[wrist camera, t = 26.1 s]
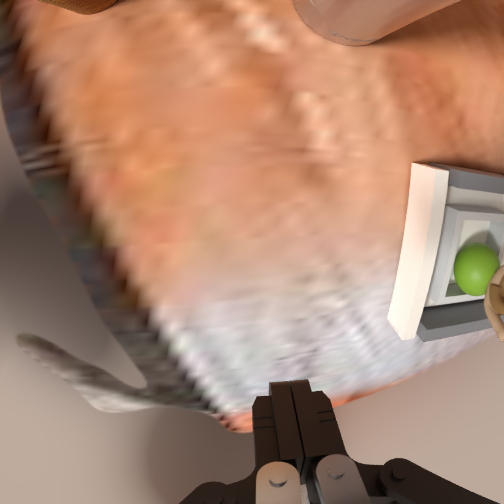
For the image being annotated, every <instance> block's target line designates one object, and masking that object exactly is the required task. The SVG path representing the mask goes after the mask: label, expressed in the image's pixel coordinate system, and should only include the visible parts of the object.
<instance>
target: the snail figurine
mask: <svg viewBox="0 0 504 504" xmlns="http://www.w3.org/2000/svg"><path fill="white" fill-rule="evenodd" d="M454 278H455V281H456V283H457V285H458V286H459V288H460V289H461V290H462V291H463V292H465V293H466V294H468V295H471V296H482V295H485V297H484V309H485V312H486V315H487V317H488V319H489V321H490V323H491V325H492V327H493V328H494V330H495V331H496V333H497V336H498V338H500V341H501V342H504V323H503V321H502V319H501V318H500V316H499V314H500V315H503V316H504V265H502V266H500V262H499V258H498V256H497V254H496V253H495V251H494V250H493V249H492V248H491V247H489V246H488V245H486V244H483V243H472V244H469V245H467V246H465V247H464V248H463V249H462V250H461V251H460V252H459V253H458V255H457V257H456V259H455V262H454Z"/></svg>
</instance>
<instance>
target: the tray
mask: <svg viewBox="0 0 504 504" xmlns="http://www.w3.org/2000/svg"><path fill="white" fill-rule="evenodd" d="M448 177H449V171H447V170H444V169H440V168H437V167H433V166H429V165H426V164H419V163H412V169H411V181H410V191H409V200H408V208H407V216H406V224H405V231H404V237H403V243H402V249H401V255H400V261H399V266H398V272H397V277H396V282H395V287H394V291H393V296H392V300H391V305H390V309H389V313H388V317H387V319H388V321H389V322H390V323H391V325H392V326H393V328H394V329H395V330H396V332H397V333H398V335H399V336H400V338H401V339H402V340H406V339H413V338H415V335H416V332H417V328H418V325H419V322H420V319H421V315H422V312H423V308H424V307H427V306H435V305H443V304H450V303H457V302H464V301H471V300H478V299H484V297H485V295H482V296H471V295H468V294H466V293H465V292H463V291H462V290H461V289H460V288H459V286H458V285H457V283H456V281H455V278H454V262H455V259H456V257H457V255H458V253H459V252H460V251H461V250H462V249H463V248H464V247H465V246H467V245H469V244H472V243H483V244H486V245H488V246H489V247H491V248H492V249H493V250H494V251H495V253H496V254H497V256H498V258H499V262H500V266H502V265H504V194H498V193H491V192H484V191H476V190H468V189H460V188H456V187H454V186H451V185H448Z"/></svg>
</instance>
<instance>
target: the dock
mask: <svg viewBox="0 0 504 504" xmlns="http://www.w3.org/2000/svg"><path fill="white" fill-rule="evenodd" d="M429 166H433V167H437V168H440V169H444V170H447V171H449V177H448V185H451V186H454V187H456V188H460V189H468V190H476V191H484V192H491V193H498V194H504V175H500V174H496V173H490V172H485V171H480V170H474V169H469V168H463V167H457V166H450V165H444V164H437V163H430V164H429ZM499 316H500V318H501V319H502V321H503V323H504V316H503V315H500V314H499ZM488 328H492V325H491V323H490V321H489V319H488V317H487V315H486V312H485V309H484V299H478V300H471V301H464V302H457V303H450V304H443V305H435V306H427V307H424V308H423V312H422V315H421V319H420V322H419V325H418V328H417V332H416V333H417V335H418V336H419V337H420V339H421V340H422V341H423V342H426V341H432V340H437V339H442V338H447V337H452V336H457V335H462V334H466V333H471V332H475V331H479V330H483V329H488Z"/></svg>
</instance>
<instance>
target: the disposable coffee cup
mask: <svg viewBox="0 0 504 504" xmlns="http://www.w3.org/2000/svg"><path fill="white" fill-rule="evenodd" d="M39 1H41V2H45V3H48V4H52V5H56V6H58V7H62V8H64V9H67V10H71V11H74V12H77V13H79V14H83V15H89V14H95V13H98V12H101V11H103V10H105V9H107V8H108V7H110V6H111V5H113V4H114V3H115V2H116V1H117V0H39Z"/></svg>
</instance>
